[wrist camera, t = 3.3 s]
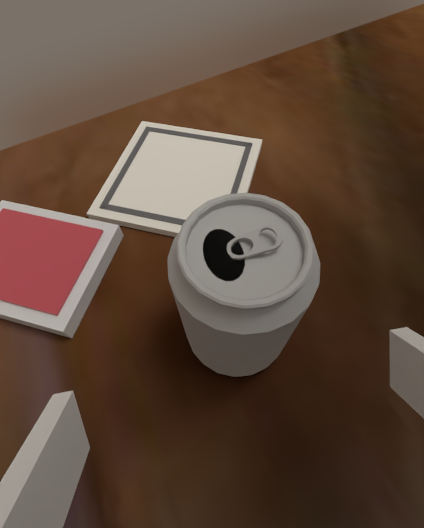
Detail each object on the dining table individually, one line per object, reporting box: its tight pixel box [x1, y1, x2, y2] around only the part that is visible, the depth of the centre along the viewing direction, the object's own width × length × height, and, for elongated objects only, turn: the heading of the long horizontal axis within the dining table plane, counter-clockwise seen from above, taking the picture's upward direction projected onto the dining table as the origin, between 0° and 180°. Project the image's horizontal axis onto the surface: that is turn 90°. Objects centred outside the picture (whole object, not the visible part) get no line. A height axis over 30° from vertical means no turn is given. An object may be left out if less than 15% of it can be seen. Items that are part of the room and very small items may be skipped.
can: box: [168, 193, 320, 377], centre depth 19 cm, size 8×8×12 cm
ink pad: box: [0, 200, 124, 338], centre depth 27 cm, size 12×10×2 cm
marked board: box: [87, 121, 262, 237], centre depth 32 cm, size 14×14×1 cm
